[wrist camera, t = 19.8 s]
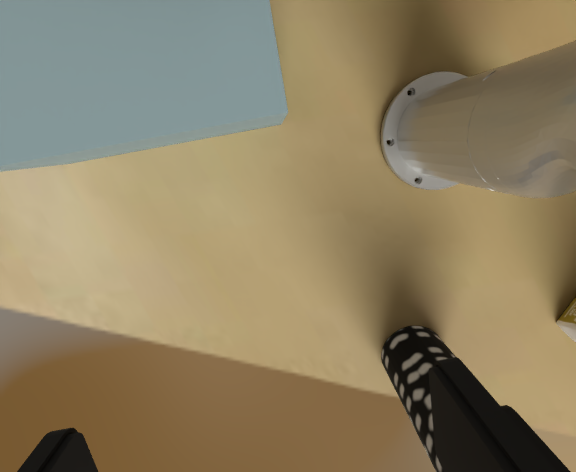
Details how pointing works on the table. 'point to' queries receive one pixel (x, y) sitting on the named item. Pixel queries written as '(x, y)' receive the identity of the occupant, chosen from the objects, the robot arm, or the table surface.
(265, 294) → the table surface
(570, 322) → the juice carton
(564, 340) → the table surface
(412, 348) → the white-spotted black cylinder
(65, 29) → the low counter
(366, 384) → the table surface
